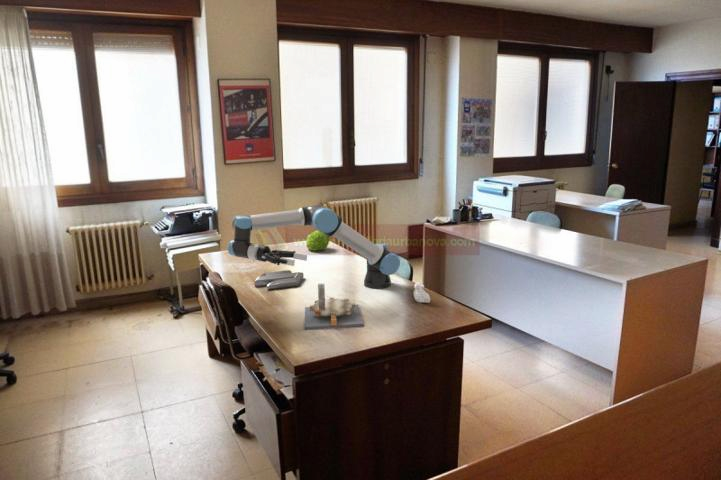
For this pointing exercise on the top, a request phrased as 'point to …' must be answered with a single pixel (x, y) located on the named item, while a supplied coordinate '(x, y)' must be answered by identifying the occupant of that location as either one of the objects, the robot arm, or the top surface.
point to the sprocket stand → (333, 320)
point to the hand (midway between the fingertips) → (300, 260)
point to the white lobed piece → (330, 305)
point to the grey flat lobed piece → (279, 279)
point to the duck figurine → (420, 293)
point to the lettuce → (317, 241)
